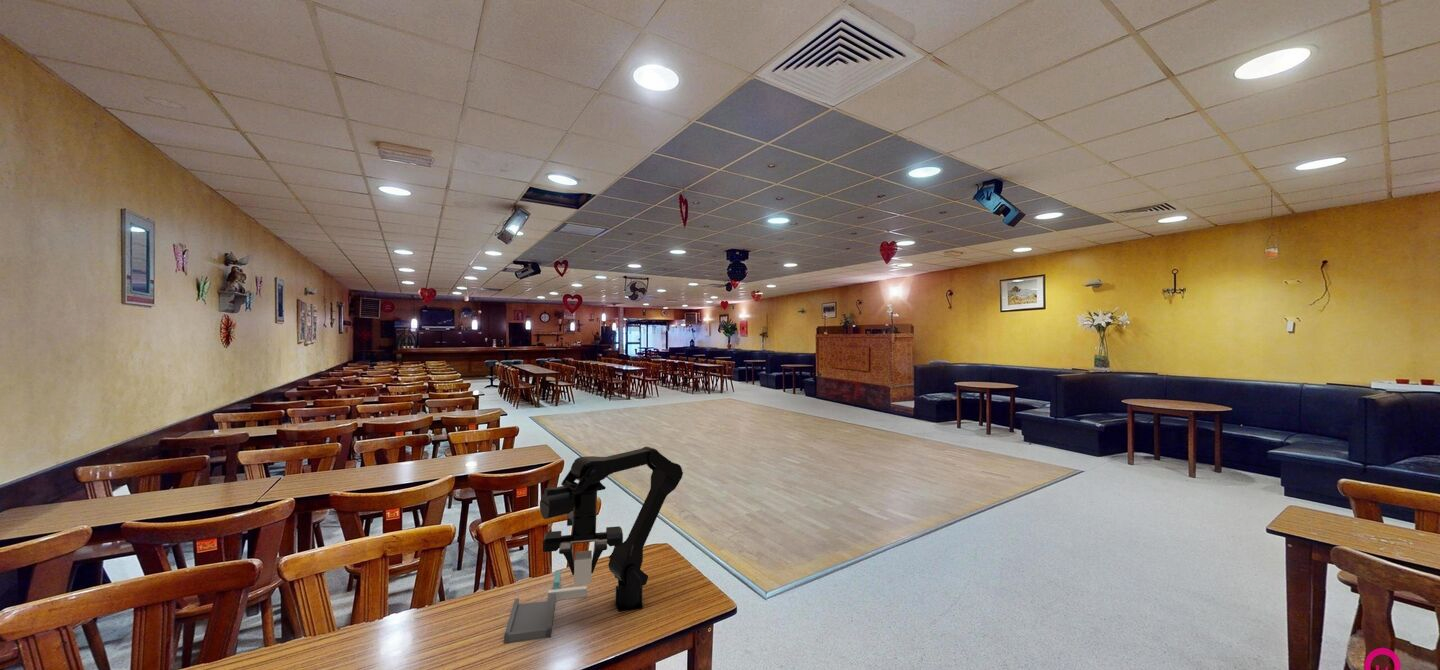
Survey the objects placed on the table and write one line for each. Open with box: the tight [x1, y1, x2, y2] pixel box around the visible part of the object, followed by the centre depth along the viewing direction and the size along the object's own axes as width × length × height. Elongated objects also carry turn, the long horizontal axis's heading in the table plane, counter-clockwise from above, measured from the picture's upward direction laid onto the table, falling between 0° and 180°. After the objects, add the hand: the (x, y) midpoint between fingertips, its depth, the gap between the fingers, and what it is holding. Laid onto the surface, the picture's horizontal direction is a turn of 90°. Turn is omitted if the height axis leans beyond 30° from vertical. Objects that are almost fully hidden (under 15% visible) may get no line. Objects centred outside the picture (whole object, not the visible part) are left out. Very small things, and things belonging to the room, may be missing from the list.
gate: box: [547, 569, 588, 601], centre depth 129 cm, size 10×8×4 cm
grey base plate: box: [503, 594, 557, 645], centre depth 115 cm, size 10×16×2 cm, turn 15°
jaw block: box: [573, 549, 593, 587], centre depth 115 cm, size 4×5×6 cm
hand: (582, 573), depth 115 cm, fingers closed on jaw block, 4 cm apart
